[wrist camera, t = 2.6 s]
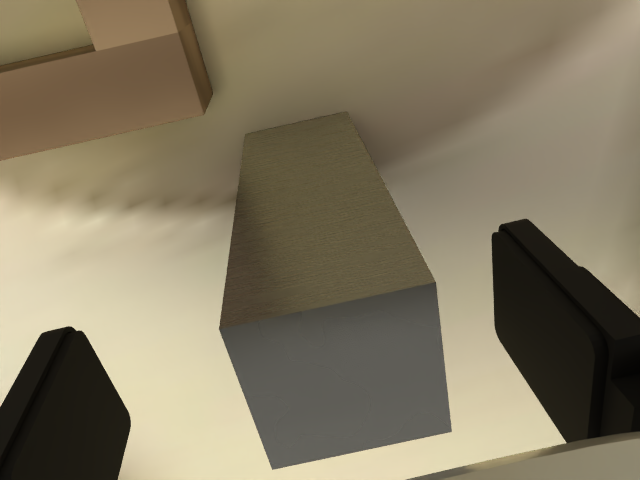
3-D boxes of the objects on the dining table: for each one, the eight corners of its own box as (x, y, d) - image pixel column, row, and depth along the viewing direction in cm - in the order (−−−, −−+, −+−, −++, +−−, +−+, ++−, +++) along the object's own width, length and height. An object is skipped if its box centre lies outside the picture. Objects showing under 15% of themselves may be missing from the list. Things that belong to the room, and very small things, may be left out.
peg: (362, 203, 22) (451, 431, 11) (270, 223, 22) (272, 469, 11) (346, 111, 20) (435, 281, 9) (245, 134, 20) (218, 328, 9)
